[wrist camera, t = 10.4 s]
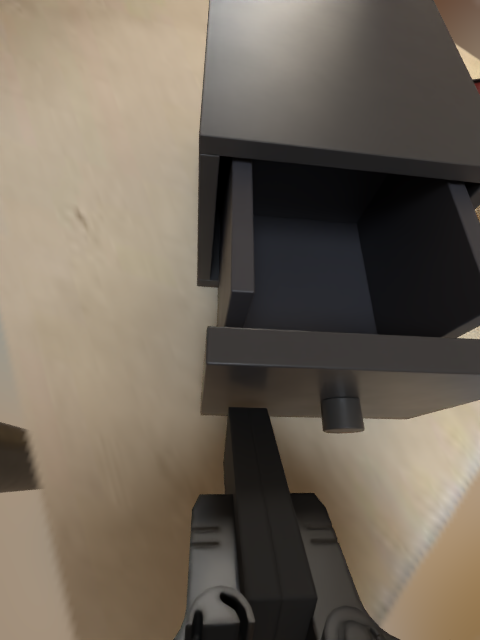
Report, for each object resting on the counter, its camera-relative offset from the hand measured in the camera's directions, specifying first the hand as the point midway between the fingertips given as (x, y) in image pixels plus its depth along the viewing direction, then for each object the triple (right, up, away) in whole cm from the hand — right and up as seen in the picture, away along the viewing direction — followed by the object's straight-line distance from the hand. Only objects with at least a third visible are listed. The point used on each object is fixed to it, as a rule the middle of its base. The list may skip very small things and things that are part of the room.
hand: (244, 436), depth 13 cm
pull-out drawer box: (+3, +5, +7) cm, 9 cm away
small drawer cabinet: (+3, +13, +12) cm, 18 cm away
